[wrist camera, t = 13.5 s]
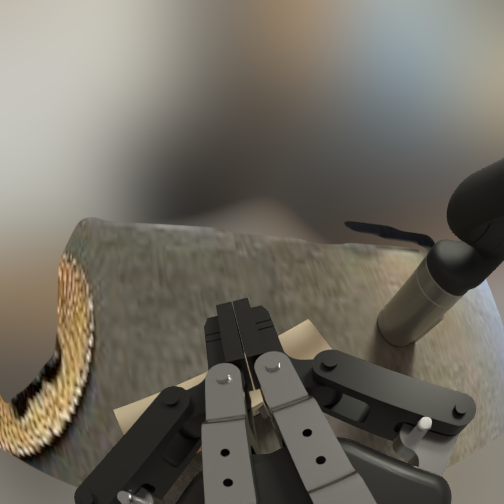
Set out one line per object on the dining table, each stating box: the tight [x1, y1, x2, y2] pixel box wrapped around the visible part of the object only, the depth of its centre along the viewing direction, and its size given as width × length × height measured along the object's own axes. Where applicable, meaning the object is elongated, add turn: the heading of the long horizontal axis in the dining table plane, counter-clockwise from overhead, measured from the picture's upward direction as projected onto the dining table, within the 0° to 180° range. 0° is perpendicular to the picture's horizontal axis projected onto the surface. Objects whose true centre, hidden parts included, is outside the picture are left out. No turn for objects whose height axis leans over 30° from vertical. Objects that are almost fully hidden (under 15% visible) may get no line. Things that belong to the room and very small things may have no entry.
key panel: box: [113, 319, 332, 435], centre depth 29 cm, size 5×22×16 cm, turn 121°
